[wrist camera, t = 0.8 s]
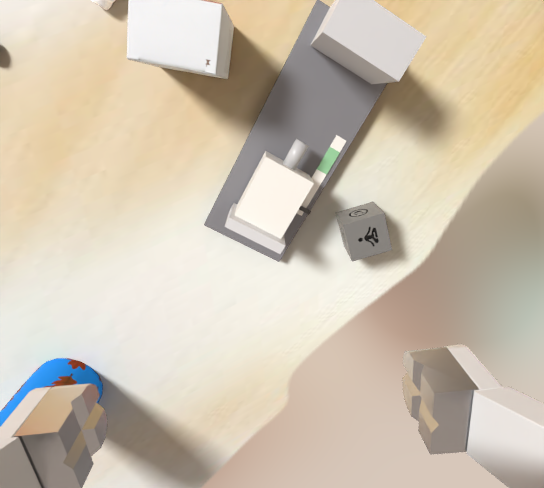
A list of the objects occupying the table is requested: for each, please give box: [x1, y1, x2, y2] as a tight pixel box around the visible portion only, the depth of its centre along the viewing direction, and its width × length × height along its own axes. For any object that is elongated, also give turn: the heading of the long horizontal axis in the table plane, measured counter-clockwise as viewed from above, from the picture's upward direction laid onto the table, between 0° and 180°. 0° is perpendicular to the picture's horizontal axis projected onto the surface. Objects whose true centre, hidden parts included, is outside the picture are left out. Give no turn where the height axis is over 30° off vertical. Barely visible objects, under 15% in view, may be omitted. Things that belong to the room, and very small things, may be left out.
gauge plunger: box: [225, 139, 314, 254], centre depth 42 cm, size 12×9×6 cm
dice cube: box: [336, 202, 392, 261], centre depth 47 cm, size 5×5×5 cm
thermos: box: [0, 359, 103, 427], centre depth 46 cm, size 11×11×25 cm
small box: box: [127, 0, 234, 79], centre depth 36 cm, size 8×6×10 cm
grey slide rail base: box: [204, 0, 426, 262], centre depth 40 cm, size 28×11×10 cm, turn 151°
